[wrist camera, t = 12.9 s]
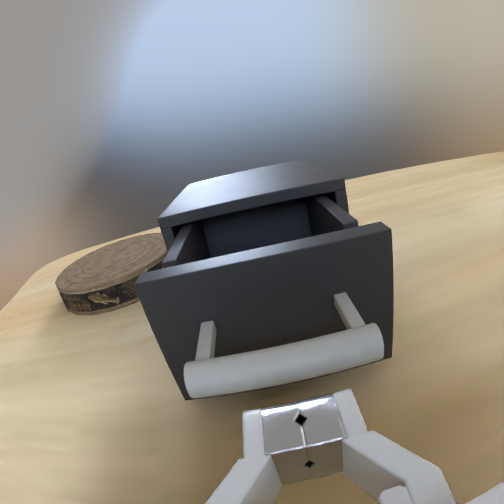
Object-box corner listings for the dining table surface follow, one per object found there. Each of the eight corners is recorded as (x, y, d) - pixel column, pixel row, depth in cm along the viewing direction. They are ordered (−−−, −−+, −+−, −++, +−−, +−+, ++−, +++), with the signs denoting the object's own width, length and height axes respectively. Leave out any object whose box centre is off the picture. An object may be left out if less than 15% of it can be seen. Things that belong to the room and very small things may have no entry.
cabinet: (357, 297, 24) (344, 177, 20) (194, 332, 24) (156, 218, 21) (315, 236, 37) (302, 159, 34) (209, 259, 38) (188, 183, 34)
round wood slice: (159, 306, 29) (148, 277, 28) (42, 319, 31) (32, 297, 30) (194, 245, 44) (188, 224, 43) (99, 264, 46) (92, 246, 45)
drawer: (423, 411, 12) (443, 267, 9) (176, 462, 12) (100, 340, 10) (330, 261, 28) (319, 180, 26) (204, 288, 29) (181, 210, 26)
